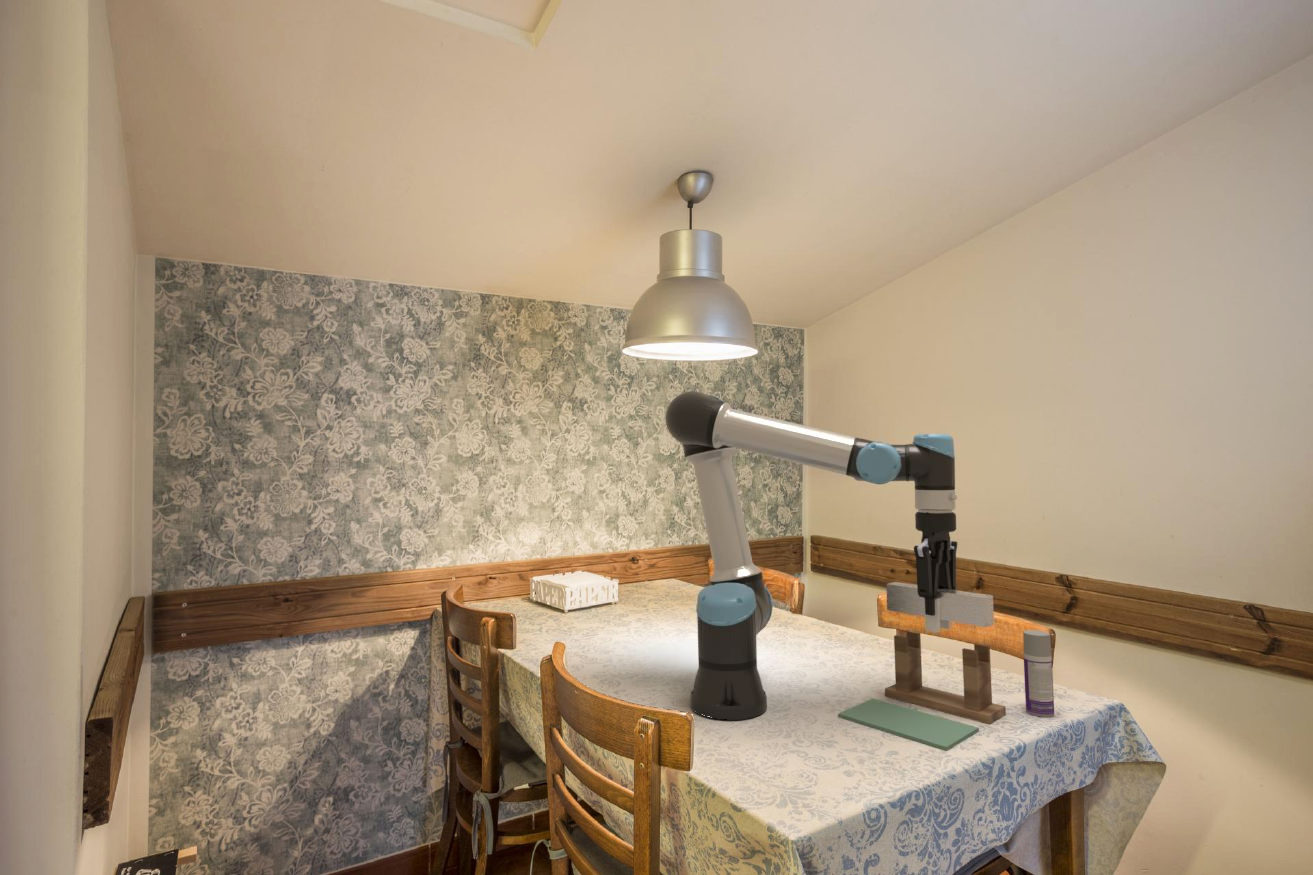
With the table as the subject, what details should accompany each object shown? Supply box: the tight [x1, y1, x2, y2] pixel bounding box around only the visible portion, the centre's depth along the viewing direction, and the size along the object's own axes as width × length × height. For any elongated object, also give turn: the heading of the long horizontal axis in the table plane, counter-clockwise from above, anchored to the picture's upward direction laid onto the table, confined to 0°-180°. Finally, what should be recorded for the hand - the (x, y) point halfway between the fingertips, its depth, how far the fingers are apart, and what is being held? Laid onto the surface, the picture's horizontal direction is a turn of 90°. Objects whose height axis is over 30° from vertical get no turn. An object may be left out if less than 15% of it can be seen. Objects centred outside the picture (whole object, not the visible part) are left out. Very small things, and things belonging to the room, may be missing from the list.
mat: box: [837, 698, 980, 752], centre depth 123 cm, size 12×21×1 cm, turn 41°
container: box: [1022, 629, 1055, 718], centre depth 127 cm, size 5×5×15 cm
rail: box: [886, 581, 995, 628], centre depth 133 cm, size 4×20×5 cm, turn 41°
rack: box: [884, 630, 1007, 725], centre depth 132 cm, size 7×21×12 cm, turn 41°
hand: (938, 629), depth 133 cm, fingers closed on rail, 4 cm apart
